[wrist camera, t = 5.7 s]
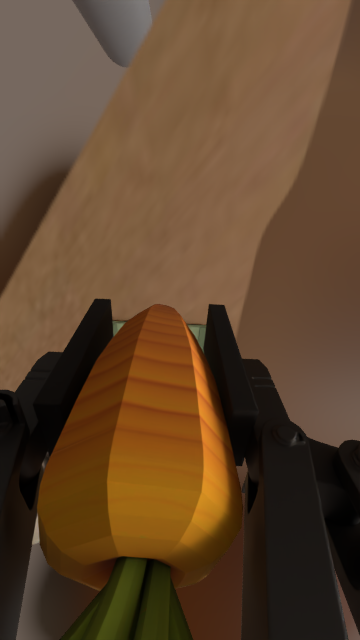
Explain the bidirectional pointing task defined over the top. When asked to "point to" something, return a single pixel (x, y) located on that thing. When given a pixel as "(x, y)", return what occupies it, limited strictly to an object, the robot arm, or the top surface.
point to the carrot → (141, 482)
